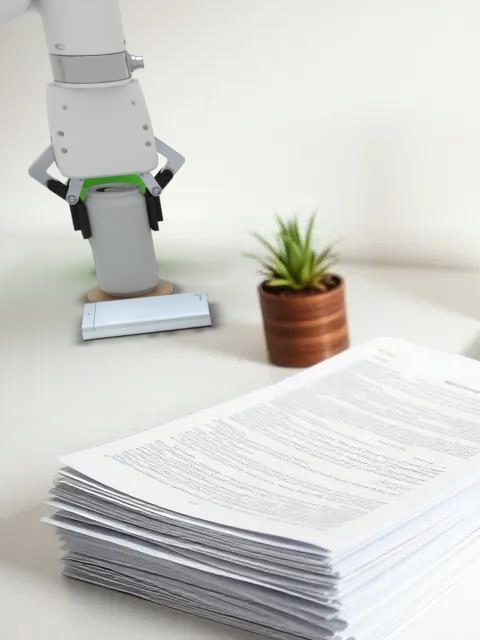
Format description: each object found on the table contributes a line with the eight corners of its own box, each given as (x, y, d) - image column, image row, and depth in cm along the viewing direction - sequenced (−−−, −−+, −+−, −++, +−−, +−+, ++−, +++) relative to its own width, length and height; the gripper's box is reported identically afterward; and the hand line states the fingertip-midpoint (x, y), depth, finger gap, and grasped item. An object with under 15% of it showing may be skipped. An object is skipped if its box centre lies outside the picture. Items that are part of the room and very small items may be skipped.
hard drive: (206, 289, 127) (84, 301, 123) (209, 313, 121) (80, 326, 116) (208, 303, 128) (86, 315, 123) (212, 327, 121) (83, 341, 117)
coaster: (76, 307, 126) (76, 304, 126) (102, 281, 134) (102, 278, 134) (161, 305, 127) (160, 302, 127) (182, 280, 135) (181, 276, 135)
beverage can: (116, 280, 133) (98, 180, 128) (170, 282, 133) (154, 181, 128) (89, 298, 127) (69, 193, 123) (145, 300, 127) (127, 195, 122)
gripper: (172, 60, 127) (195, 215, 134) (-4, 68, 119) (31, 233, 126) (183, 69, 121) (207, 231, 129) (0, 79, 113) (36, 251, 120)
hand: (120, 230), depth 127 cm, fingers closed on beverage can, 6 cm apart
